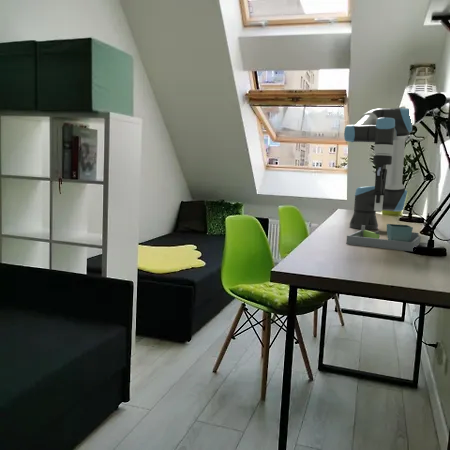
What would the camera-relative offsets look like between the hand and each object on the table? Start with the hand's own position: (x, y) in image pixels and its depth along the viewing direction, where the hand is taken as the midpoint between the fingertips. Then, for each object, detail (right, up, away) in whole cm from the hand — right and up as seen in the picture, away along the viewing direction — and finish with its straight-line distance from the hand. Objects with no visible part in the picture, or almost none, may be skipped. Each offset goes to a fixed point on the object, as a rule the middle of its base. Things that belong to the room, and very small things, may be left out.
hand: (378, 210), depth 204 cm
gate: (0, -13, +10) cm, 16 cm away
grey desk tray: (+3, -14, +3) cm, 15 cm away
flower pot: (+7, -16, -3) cm, 17 cm away
